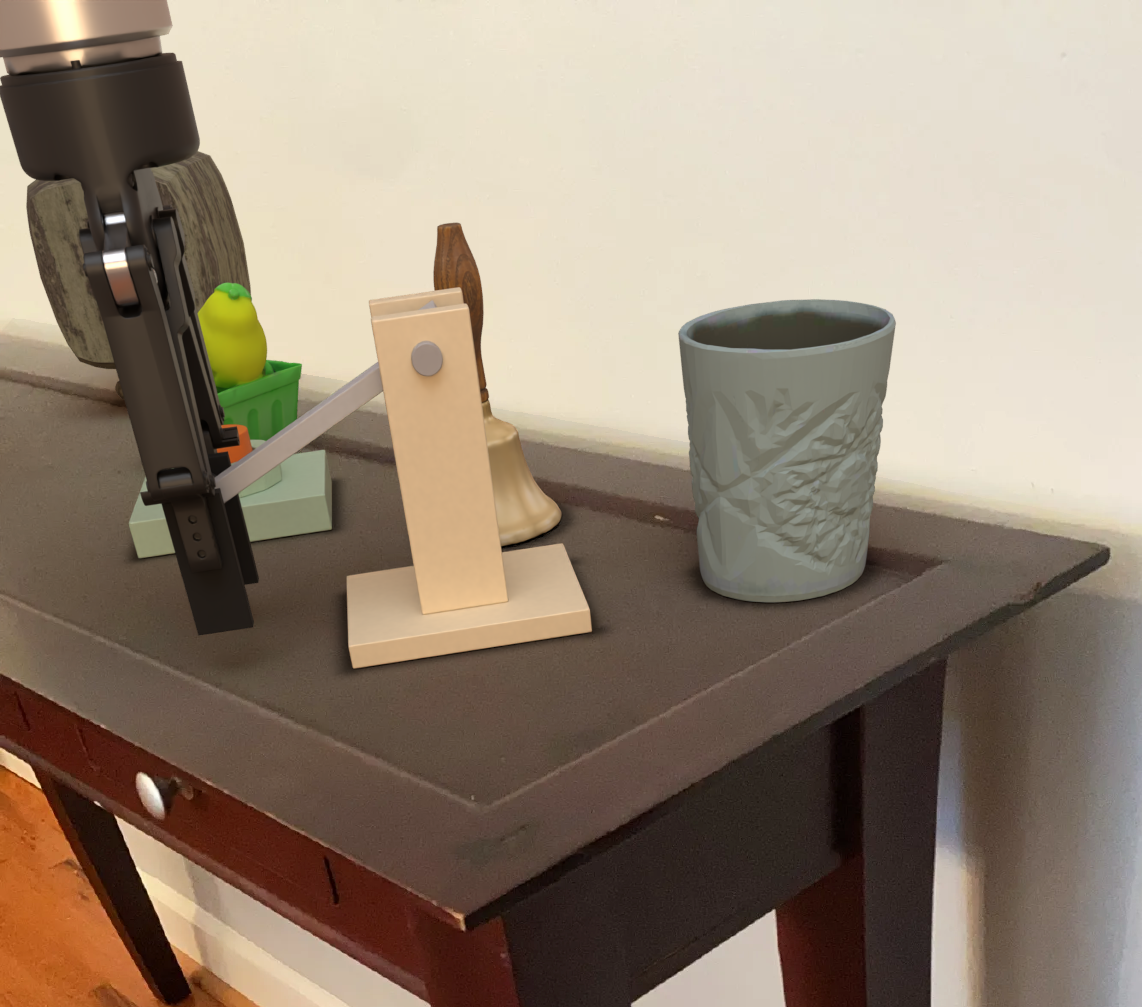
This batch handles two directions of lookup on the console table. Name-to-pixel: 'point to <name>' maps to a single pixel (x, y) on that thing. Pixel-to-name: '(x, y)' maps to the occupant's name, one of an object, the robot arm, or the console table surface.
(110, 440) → the console table surface
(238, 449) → the orange push button
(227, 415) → the fruit basket
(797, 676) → the console table surface
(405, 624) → the lever bracket
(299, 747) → the console table surface
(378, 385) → the press lever
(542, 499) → the hand bell
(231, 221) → the tabletop clock
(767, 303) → the drinking glass
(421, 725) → the console table surface
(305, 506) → the button block
